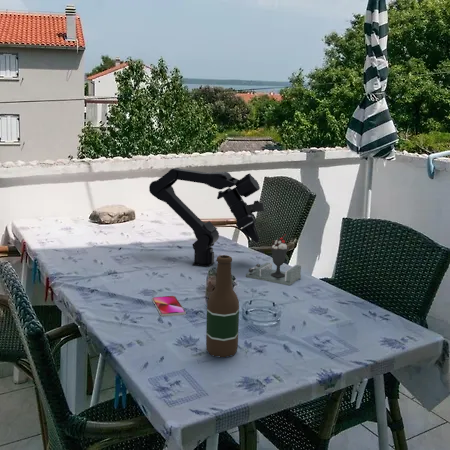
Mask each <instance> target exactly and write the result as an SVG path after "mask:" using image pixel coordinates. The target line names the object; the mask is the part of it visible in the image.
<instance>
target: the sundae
mask: <svg viewBox="0 0 450 450" xmlns="http://www.w3.org/2000/svg"><path fill="white" fill-rule="evenodd" d="M285 236H287V234H286V233H284V234H283V236H282V237H280V238H278V239H276V240H274V239H272V240H271V245H270V246H269V247H270V249H271V254H272V255H271V257H272V262H273V264H274V265H275V266H276V269H275V270H276V272H275V273H272V274H271V276H273V277H284V276H285V274H283V273H281V272H280V271H281V266H282V265H284V263H285V261H286V256H287V251H289V249H290V247H289V246H288V245H287V244H286V240H285V239H284V237H285Z"/></svg>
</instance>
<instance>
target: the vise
mask: <svg viewBox="0 0 450 450" xmlns="http://www.w3.org/2000/svg"><path fill="white" fill-rule="evenodd" d="M276 270H277V269H273V263H271V262H265V263H263V264H262V265H261V264H259V263H257V264H256V265H255V266H254V267H250V268H248V272H247V273H246V274H245V277H246V278H250V279H255V280H260V281H265V282H270V283H277V284H281V285H285V286H291V285H292V284H295V282H297V281H298V280H300V279H301V278H302V274H301V272H302V265H299V264H295V265H293V266H291V267H290V268H288V269H287V270H285V271H281V270H280V272H281V273H283V274H285V276H284V277H273V276H271V274H272V273H275V272H276Z"/></svg>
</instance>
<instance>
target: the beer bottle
mask: <svg viewBox="0 0 450 450" xmlns="http://www.w3.org/2000/svg"><path fill="white" fill-rule="evenodd" d="M216 262H217V266H216V276H215V285H214V289H213V291H212V292H211V293H210V295H209V297H208V300H207V305H206V327H205V328H206V331H205V332H206V333H205V334H206V336H205V340H206V341H205V346H206V352H207V351H208V352H209V355H211V356H212V355H214V356H213V357H215V356H220V357H219V358H221V357H225V358H227V357H226V356H229V357H231V356H230V355H233V356H235V354H236V352H237V351H238V346H239V325H240V323H239V321H240V300H239V298H238V295H237V294H236V292H235V290H234V289H233V283H232V262H233V258H232V256H230V255H226V254H223V255H222V254H221V255H218V256H217V257H216ZM208 352H207V353H208Z"/></svg>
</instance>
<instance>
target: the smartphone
mask: <svg viewBox="0 0 450 450" xmlns="http://www.w3.org/2000/svg"><path fill="white" fill-rule="evenodd" d="M151 301H152V302H153V304H155V305H154V307H155V308H156V310H157V312H158V314H159V315H160V316H161V317H165V318H166V317H173V316H174V317H175V316H184V315H186V314H187V312H186V309H185V308H184V307H183V305H182V304H181V302H180V301H179V300H178V298H177V297H176V296H175V295H165V296H154V297H152V298H151Z"/></svg>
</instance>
